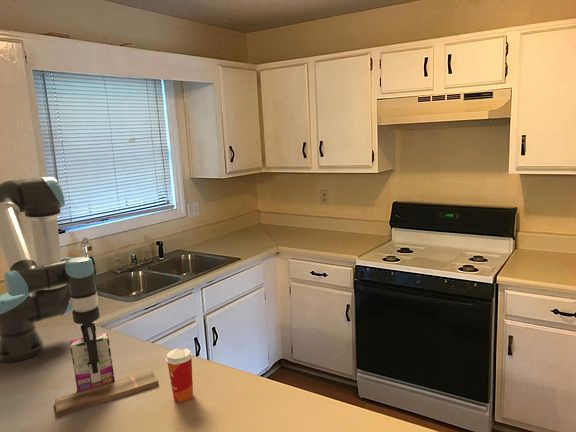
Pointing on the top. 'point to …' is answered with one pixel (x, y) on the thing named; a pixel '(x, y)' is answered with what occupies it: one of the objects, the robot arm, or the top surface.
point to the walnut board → (105, 393)
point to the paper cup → (180, 374)
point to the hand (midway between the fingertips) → (95, 377)
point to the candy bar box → (82, 358)
